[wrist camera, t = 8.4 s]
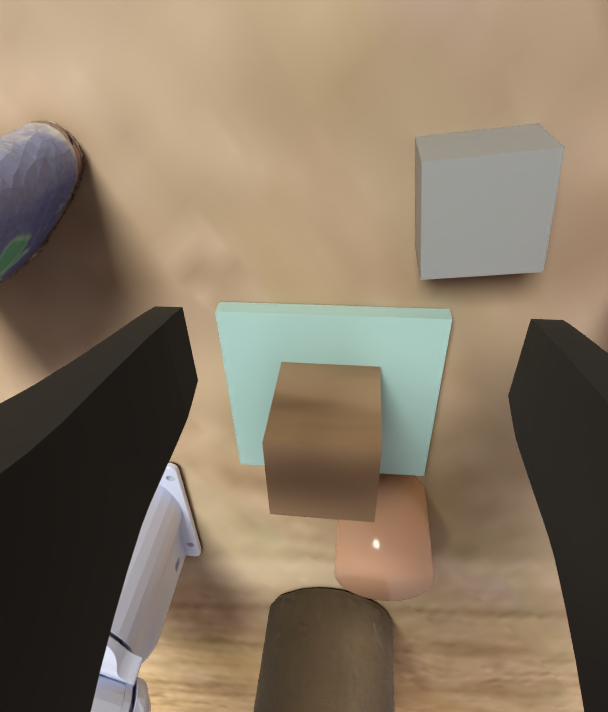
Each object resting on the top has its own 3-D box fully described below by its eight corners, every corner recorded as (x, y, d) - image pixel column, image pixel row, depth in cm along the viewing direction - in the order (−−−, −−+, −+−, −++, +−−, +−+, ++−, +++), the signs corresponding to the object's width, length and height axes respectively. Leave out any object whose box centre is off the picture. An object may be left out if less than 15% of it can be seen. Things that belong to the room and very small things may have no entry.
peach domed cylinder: (420, 523, 30) (427, 604, 27) (339, 517, 31) (334, 596, 27) (430, 470, 27) (440, 553, 24) (340, 464, 28) (334, 544, 24)
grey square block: (521, 234, 19) (543, 271, 17) (414, 242, 20) (420, 279, 17) (537, 121, 17) (564, 147, 14) (414, 135, 17) (421, 161, 15)
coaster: (422, 464, 27) (424, 476, 27) (243, 453, 28) (240, 464, 28) (449, 309, 21) (452, 319, 20) (219, 301, 22) (215, 311, 21)
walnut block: (374, 436, 25) (374, 522, 21) (286, 430, 26) (270, 513, 22) (380, 366, 22) (381, 451, 18) (281, 361, 23) (262, 443, 19)
